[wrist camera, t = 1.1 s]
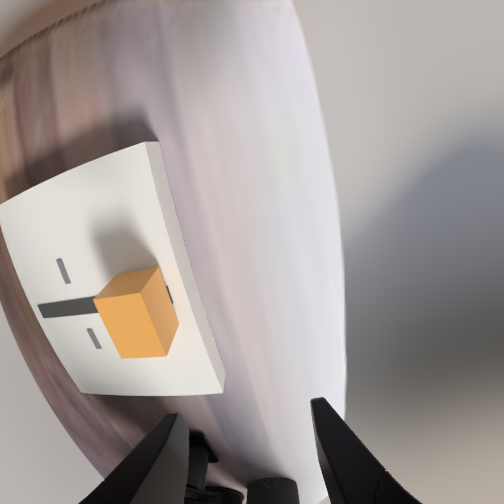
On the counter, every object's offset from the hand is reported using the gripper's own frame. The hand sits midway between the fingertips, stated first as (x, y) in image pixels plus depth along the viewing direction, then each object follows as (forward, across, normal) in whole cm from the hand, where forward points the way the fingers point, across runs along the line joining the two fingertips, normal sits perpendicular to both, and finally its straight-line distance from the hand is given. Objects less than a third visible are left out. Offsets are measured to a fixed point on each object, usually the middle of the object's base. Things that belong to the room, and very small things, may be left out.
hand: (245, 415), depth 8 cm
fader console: (+12, +11, 0) cm, 16 cm away
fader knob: (+9, +6, 0) cm, 11 cm away
